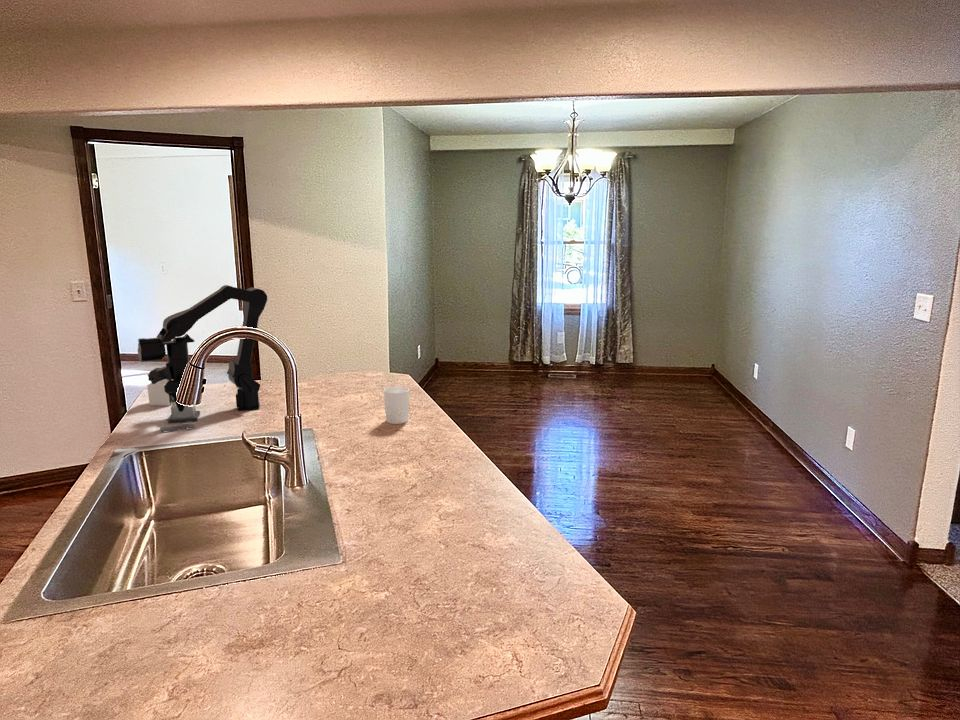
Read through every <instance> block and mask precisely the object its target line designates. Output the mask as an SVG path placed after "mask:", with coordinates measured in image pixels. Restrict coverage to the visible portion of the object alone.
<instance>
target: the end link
mask: <svg viewBox="0 0 960 720" xmlns="http://www.w3.org/2000/svg"><path fill="white" fill-rule="evenodd" d="M196 411H197V408H196V405H195V406H193V407H188V406H185V407H184V410H183V411H181V412H179V410H178V408H177V405H176V403H175V402H174V403H173V404H172V405H171V406H170V412H171V413H170V416H171V415H172V419H179V418H191V417H194V415H195V413H196Z"/></svg>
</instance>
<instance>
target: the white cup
mask: <svg viewBox="0 0 960 720" xmlns="http://www.w3.org/2000/svg"><path fill="white" fill-rule="evenodd" d="M383 401H384V402H383V403H384V411H385V420H386V423H388V424H391V425H392V424H393V425H401V424H406V423H407V422H409V412H410V411H409V410H410V388H409V387H407V386H401V385H397V386H395V385H394V386H387V387H386V388H385V387H384V389H383Z"/></svg>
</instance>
